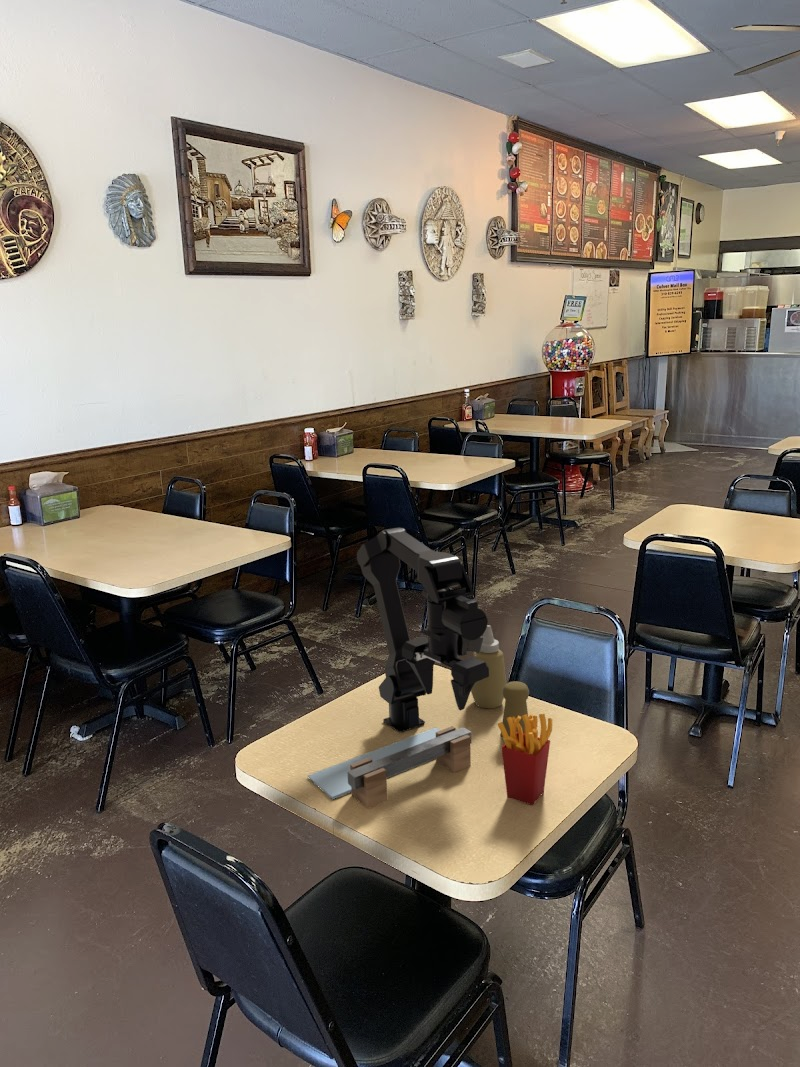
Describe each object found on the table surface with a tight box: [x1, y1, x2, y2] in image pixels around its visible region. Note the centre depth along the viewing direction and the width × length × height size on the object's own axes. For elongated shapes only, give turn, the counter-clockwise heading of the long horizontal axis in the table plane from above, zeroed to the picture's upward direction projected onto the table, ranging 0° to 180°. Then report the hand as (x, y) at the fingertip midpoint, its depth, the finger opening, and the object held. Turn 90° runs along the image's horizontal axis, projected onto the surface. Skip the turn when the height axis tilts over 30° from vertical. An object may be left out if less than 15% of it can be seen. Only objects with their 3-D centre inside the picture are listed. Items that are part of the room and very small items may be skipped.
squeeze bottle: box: [470, 624, 507, 709], centre depth 173 cm, size 8×8×18 cm
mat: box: [307, 727, 441, 801], centre depth 153 cm, size 9×30×1 cm, turn 125°
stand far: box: [435, 725, 472, 773], centre depth 151 cm, size 5×4×6 cm
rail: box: [347, 727, 472, 790], centre depth 145 cm, size 26×2×2 cm, turn 125°
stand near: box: [350, 758, 388, 810], centre depth 140 cm, size 5×4×6 cm
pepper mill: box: [500, 680, 530, 738], centre depth 160 cm, size 6×6×11 cm
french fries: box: [497, 713, 553, 806], centre depth 140 cm, size 9×8×15 cm
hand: (445, 701), depth 151 cm, fingers open, 9 cm apart
